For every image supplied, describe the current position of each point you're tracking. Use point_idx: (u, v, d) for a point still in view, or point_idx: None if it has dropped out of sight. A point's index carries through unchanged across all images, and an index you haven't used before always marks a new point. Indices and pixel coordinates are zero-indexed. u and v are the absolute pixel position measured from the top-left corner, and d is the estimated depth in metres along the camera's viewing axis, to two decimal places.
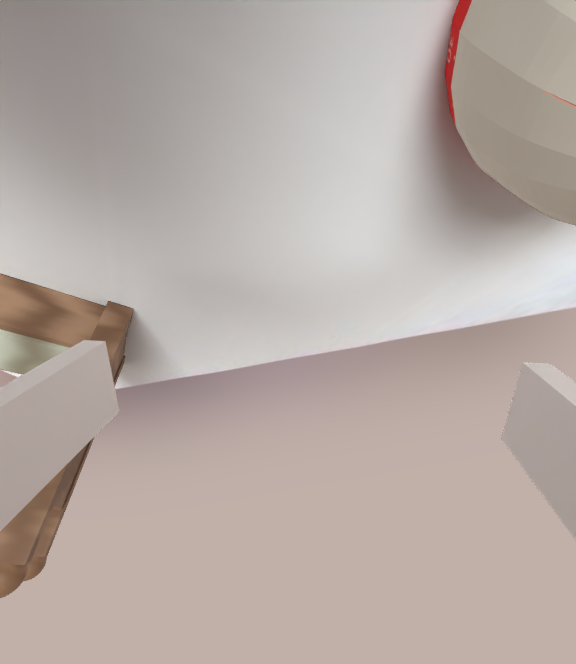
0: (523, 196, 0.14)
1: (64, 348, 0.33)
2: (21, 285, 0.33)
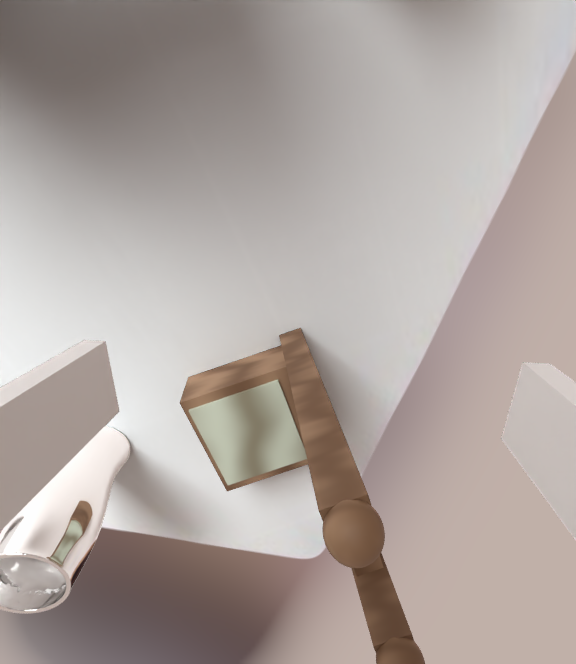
0: None
1: (270, 383, 0.32)
2: (215, 369, 0.36)
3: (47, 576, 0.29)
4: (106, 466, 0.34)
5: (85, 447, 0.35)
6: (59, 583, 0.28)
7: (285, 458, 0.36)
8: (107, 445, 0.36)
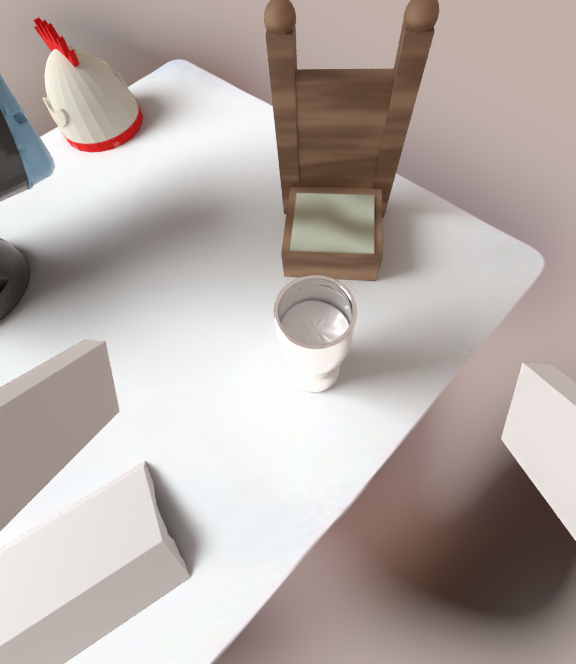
0: (112, 91, 0.54)
1: (296, 197, 0.44)
2: None
3: None
4: None
5: None
6: None
7: (365, 208, 0.43)
8: None
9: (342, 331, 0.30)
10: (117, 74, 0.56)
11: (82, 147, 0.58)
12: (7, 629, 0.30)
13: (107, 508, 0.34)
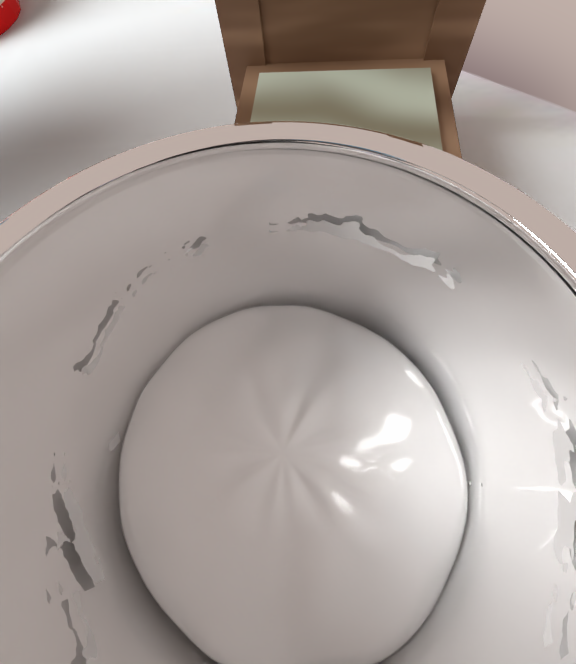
0: None
1: None
2: None
3: (496, 583, 0.04)
4: None
5: None
6: (535, 458, 0.04)
7: (414, 92, 0.19)
8: None
9: (422, 458, 0.06)
10: None
11: None
12: None
13: None
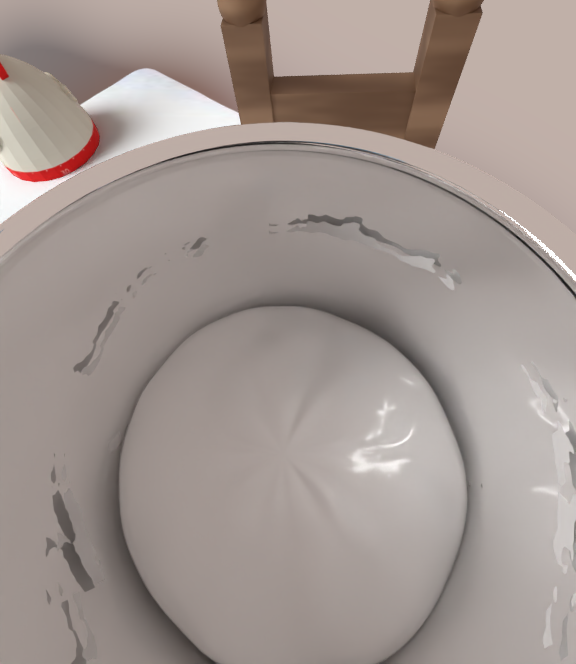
0: (55, 108, 0.44)
1: None
2: None
3: (496, 584, 0.04)
4: None
5: None
6: (535, 459, 0.04)
7: None
8: None
9: (422, 459, 0.06)
10: (63, 87, 0.46)
11: (23, 175, 0.48)
12: None
13: None
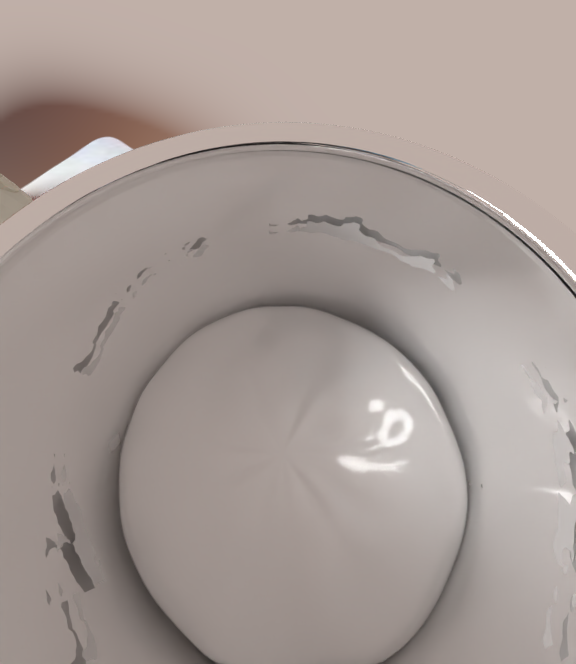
0: None
1: None
2: None
3: (497, 584, 0.04)
4: None
5: None
6: (535, 459, 0.04)
7: None
8: None
9: (422, 459, 0.06)
10: None
11: None
12: None
13: None
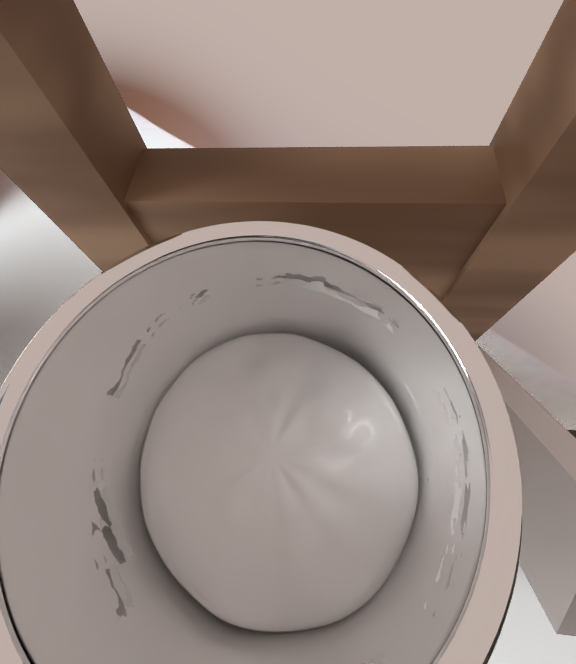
0: None
1: None
2: None
3: (425, 550, 0.06)
4: None
5: None
6: (447, 458, 0.06)
7: None
8: None
9: (382, 459, 0.08)
10: None
11: None
12: None
13: None
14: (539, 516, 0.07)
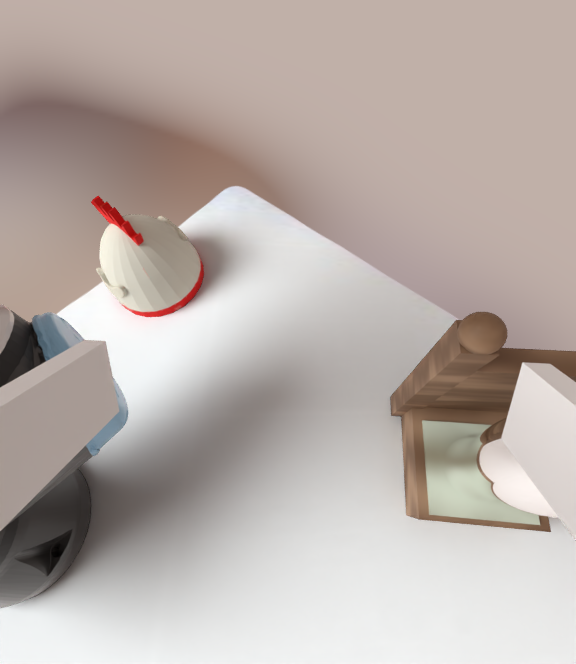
0: (177, 259, 0.46)
1: (423, 427, 0.36)
2: (405, 483, 0.38)
3: None
4: None
5: (459, 456, 0.32)
6: None
7: None
8: (465, 441, 0.33)
9: None
10: (180, 234, 0.48)
11: (138, 313, 0.50)
12: None
13: None
14: None
